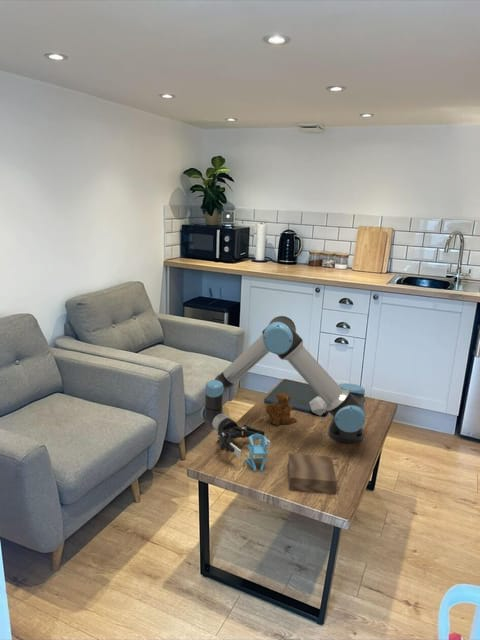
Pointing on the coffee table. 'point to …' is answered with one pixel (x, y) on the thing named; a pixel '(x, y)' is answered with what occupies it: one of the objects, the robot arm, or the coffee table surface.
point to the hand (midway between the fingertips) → (255, 449)
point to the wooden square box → (311, 473)
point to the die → (318, 406)
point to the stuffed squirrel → (280, 410)
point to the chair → (257, 451)
